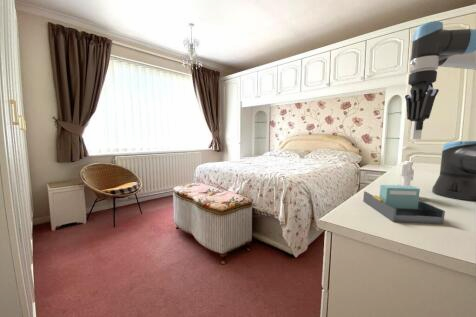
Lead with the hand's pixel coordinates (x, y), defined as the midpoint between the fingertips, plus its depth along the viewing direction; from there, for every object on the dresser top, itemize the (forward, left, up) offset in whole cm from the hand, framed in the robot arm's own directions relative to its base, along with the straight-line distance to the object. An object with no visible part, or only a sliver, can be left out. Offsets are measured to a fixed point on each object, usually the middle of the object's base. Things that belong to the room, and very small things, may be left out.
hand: (415, 139), depth 78 cm
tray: (+9, +9, -24) cm, 28 cm away
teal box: (+9, +9, -24) cm, 27 cm away
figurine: (-5, -10, -25) cm, 27 cm away
